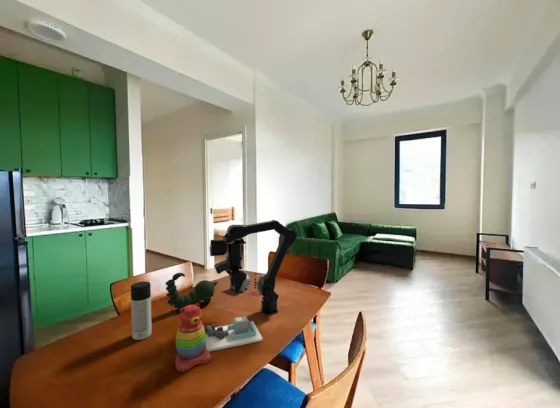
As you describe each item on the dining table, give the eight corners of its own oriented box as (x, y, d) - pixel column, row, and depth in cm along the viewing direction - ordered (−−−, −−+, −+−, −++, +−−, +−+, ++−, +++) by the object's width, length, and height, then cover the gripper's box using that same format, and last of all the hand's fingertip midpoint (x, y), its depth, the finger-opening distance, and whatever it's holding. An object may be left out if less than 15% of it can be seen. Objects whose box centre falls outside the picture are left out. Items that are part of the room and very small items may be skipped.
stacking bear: (178, 374, 80) (177, 316, 79) (170, 357, 88) (169, 304, 87) (213, 360, 86) (212, 307, 85) (202, 345, 95) (201, 296, 94)
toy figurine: (174, 321, 116) (224, 300, 132) (169, 279, 113) (221, 263, 130) (166, 313, 122) (215, 294, 139) (161, 274, 120) (211, 259, 137)
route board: (252, 322, 111) (252, 315, 111) (262, 340, 98) (262, 332, 98) (203, 331, 104) (203, 323, 104) (206, 352, 91) (206, 343, 91)
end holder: (250, 324, 108) (250, 321, 108) (256, 335, 100) (256, 331, 100) (227, 328, 105) (227, 325, 105) (231, 340, 97) (231, 336, 97)
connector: (246, 328, 105) (246, 315, 105) (248, 333, 101) (248, 320, 101) (233, 330, 103) (233, 317, 103) (235, 336, 99) (235, 322, 99)
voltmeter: (227, 292, 143) (227, 274, 143) (231, 285, 155) (231, 268, 154) (277, 293, 143) (277, 275, 143) (277, 285, 154) (277, 268, 154)
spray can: (155, 332, 103) (154, 282, 102) (141, 342, 97) (140, 288, 95) (142, 329, 105) (141, 280, 104) (127, 338, 99) (126, 285, 98)
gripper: (212, 251, 121) (213, 284, 122) (218, 261, 103) (218, 300, 104) (237, 249, 125) (237, 281, 126) (246, 258, 107) (246, 296, 108)
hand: (234, 289), depth 116 cm, fingers open, 9 cm apart
